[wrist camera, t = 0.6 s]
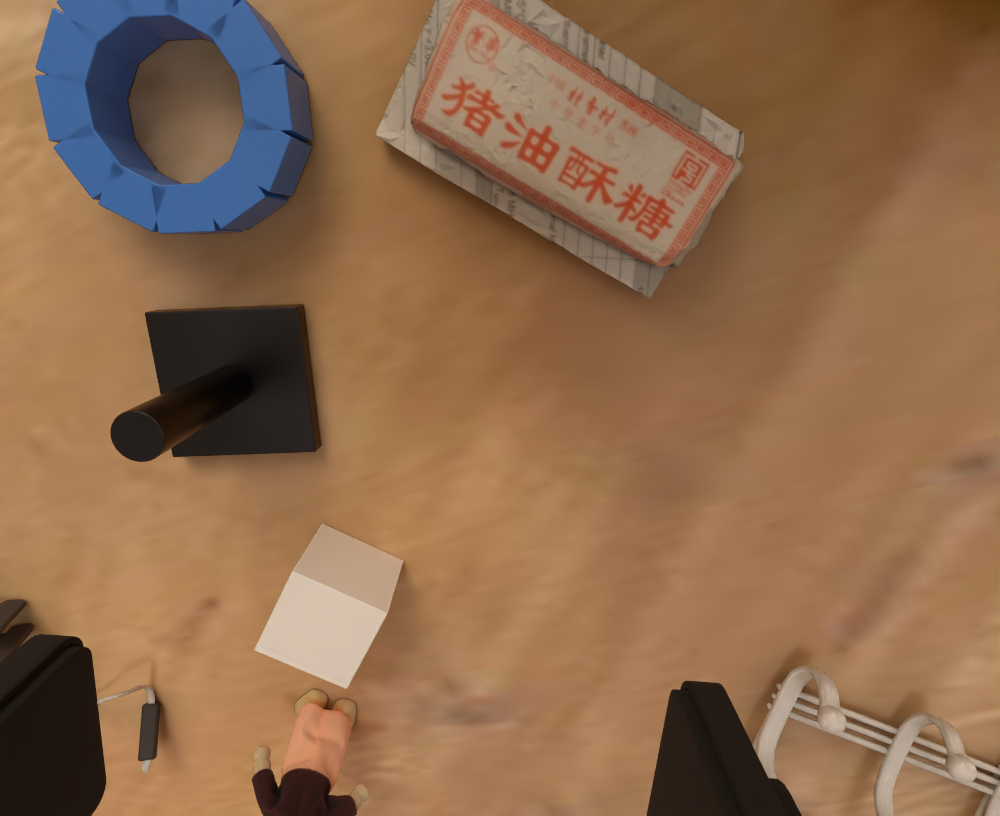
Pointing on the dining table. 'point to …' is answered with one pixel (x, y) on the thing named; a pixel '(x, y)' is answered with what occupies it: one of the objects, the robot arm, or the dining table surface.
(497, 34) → the packaged product
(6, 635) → the clip-on lamp
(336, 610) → the white cube
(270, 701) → the dining table surface
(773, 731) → the over door rack
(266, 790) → the grandmother figurine
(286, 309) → the peg stand
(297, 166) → the tape
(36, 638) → the robot arm
